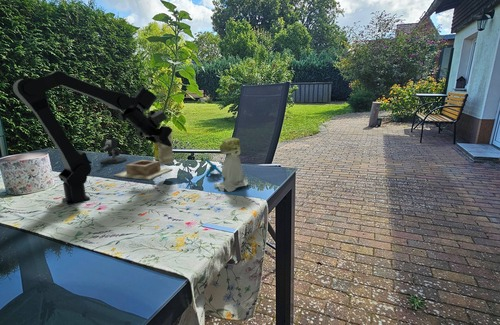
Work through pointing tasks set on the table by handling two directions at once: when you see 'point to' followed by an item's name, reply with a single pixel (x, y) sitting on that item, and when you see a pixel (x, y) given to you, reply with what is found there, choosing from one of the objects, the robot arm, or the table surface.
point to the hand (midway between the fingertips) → (168, 145)
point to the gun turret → (111, 152)
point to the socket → (143, 170)
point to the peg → (165, 152)
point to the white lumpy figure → (231, 166)
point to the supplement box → (156, 151)
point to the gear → (212, 168)
